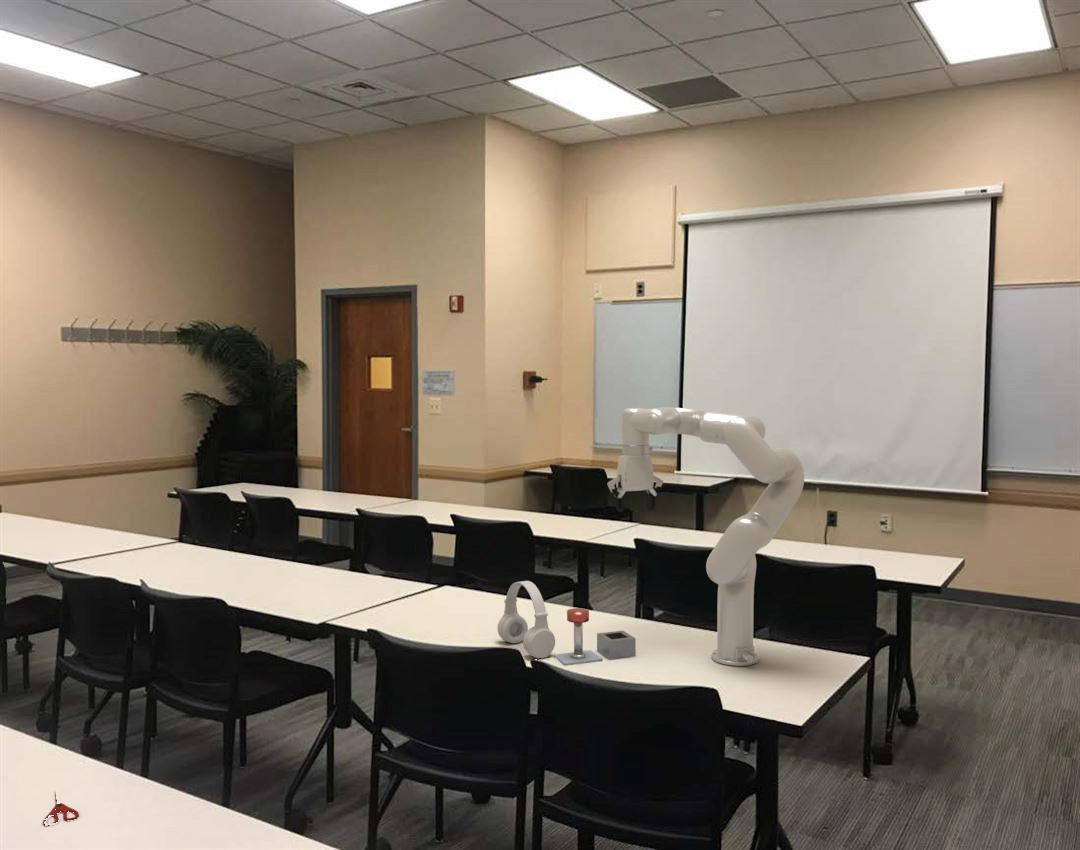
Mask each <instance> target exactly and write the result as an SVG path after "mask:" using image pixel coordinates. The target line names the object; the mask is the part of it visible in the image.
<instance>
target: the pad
mask: <svg viewBox="0 0 1080 850" xmlns="http://www.w3.org/2000/svg"><path fill="white" fill-rule="evenodd" d="M573 652H574V651H572V652H565V653H558V654H553V657H554V658H555V657H556V658H557V659H558V660H557V659H556V658H555V659H556V660H557V661H558V662H560V663H561V665H563V666H572V665H579V664H587V663H592V662H593V663H594V662H602V661H603V658H602V657H601V656H599V655H598V654H597V653H596V652H594V651H592V650H591V649H590V650H583V652H584V653H585V658H583V659H574V658H572V656H571V654H572V653H573Z"/></svg>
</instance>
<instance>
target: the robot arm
mask: <svg viewBox="0 0 1080 850" xmlns="http://www.w3.org/2000/svg"><path fill="white" fill-rule="evenodd" d="M621 418H622V420H621V421H622V424H621V425H622V427H621V428H622V429H621V430H622V435H621V436H622V437H621V438H622V442H621V444H622V447H621V448H622V451H621V452H622V453H621V454H622V455H619V457H618V460H617V461H618V463H617V469H616V477H614V478H613V479H610V480H609V481H608V482H607V487H608V489H609V492H610V493H612V495H613V496H614V497H615V508H616V511H617V512H619V513H623V512H624V511H625V509H624V508H625V500H624V499H625V498H624V497H623V496H624V495H625V493H626V492H639V491H645V492H647V495H646V508H647V509H648V510H650V511H655V507H656V496H657V495H658V493H659V491H660V490H661V488H662V486H663V484H664V480H663V479H661V478H660V477H658V476H655V474H654V467H653V462H652V456H651V455H650V452H652V451H653V449H654V448H653V446H651V445H650V444H649V443H650V436H649V435H652V436H659V435H666V434H678V435H686V436H692V437H697V438H699V439H700V440H701V441H702V442H705V443H713V444H721V445H726V446H727V447H728V449H729V450H730V451H731V453H733V454H734V456H735V457H736V458H737V460H739V461H740V463H741V464H742V465H743V466H744V468H745V469H746V470H747V471H748V472H749V473H750V475H752V477H753V478H755V480H757V481H758V482H761V483H762V484H768V485H767V486H766V488H765V489H764V490H763V492H762V493H761V494H760V495H759V498H758V499H757V501H756V502H755V503H754V505H753V506H752V507H751V509H750V510H749V511H748V512H747V513H746V514H744V515H742V516H739V517H738V518H736V519H734V520H733V521H732V522H731V523H730V524H729V525H728V526H727V528H726V530H725V531H724V532H723V534H722V536H721V537H720V538H719V540H718V542H717V543H716V545H715V546H714V548H713V549H712V551H711V552H710V553H709V556H708V557H707V558H706V563H705V564H706V565H705V569H706V570H705V571H706V573H707V576H708V578H709V579H710V580H711V581H712V582H714V583H715V584H717V586H718V587H717V608H716V609H717V615H716V616H717V617H716V618H717V622H716V623H717V626H716V627H717V628H716V629H717V632H716V633H717V634H716V635H717V638H716V640H717V645H716V649H714V650H713V651H712V652H711V653H710V655H711V659H712V660H713V661H714V662H715V663H717V664H723V665H726V666H727V665H728V666H731V667H732V666H734V667H746V666H752V665H755V664H757V663H758V662H759V661H760V656H759V654H758V653H756V652H755V646H754V605H755V604H754V599H755V598H754V595H755V582H756V581H755V580H756V573H757V558H756V554H757V552H758V551H759V550H761V549H762V548H765V547H766V546H768V545H769V544H770V543H771V541H773V539H774V536H775V535H776V534H777V532H778V530H779V529H780V528H781V526H782V524H783V523H784V522H785V520H786V518H787V517H788V515H789V514H790V512H791V510H793V508H794V506H795V505H796V503H797V502H798V500H799V498H800V496H801V494H802V493H803V488H804V485H805V470H804V468H803V464H802V462H801V460H800V459H799V457H798V456H797V455H796V453H794V452H793V451H792V450H790V449H788V448H784V447H775V448H772V447H771V446H770V445H769V444H768V443H767V442H766V440H765V439H764V438H765V436H766V425H765V424H764V422H763V421H762V420H761V419H760V418H759V417H757V416H754V415H749V414H742V413H741V414H740V413H732V412H731V413H730V412H722V411H721V412H720V411H714V410H713V411H712V410H700V409H693V408H692V409H691V408H683V407H682V408H681V407H673V406H664V407H654V408H653V407H652V408H643V407H627V408H625V409H624V410H623V411H622V416H621ZM654 482H655V483H656V484H655V483H654ZM654 484H655V486H654ZM615 485H616V487H615ZM616 488H617V489H616Z"/></svg>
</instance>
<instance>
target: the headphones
mask: <svg viewBox="0 0 1080 850" xmlns="http://www.w3.org/2000/svg"><path fill="white" fill-rule="evenodd" d="M521 587H524V589H525V590H526V591H527V593H528V594H529V597H530V599H531V602H532V605H533V609H534V614H533V615H534V626H533V627H530V628H529V626H528V622H527V620H526V619H525V618H524V617H523V616H521V615H520V614H519V611H518V608H517V603H518V602H517V601H518V599H517V597H518V593H519V590H520V588H521ZM503 611H504V612H503V615H502V617H501V618H500V619H499V621H498V623H497V634H498V636H499V637H500V638H501V639H502V640H503V641H504V642H507V643H511V644H518V643H520V642H522V641H523V642H522V644H523V648H524V649H525V651H526V652H527V654H529V655H530V656H532V658H536V659H539V658H541V659H545V658H547V657H549V656H550V655H551V654H552V652H553V651H554V649H555V647H556V639H555V638H556V637H555V635H554V634H555V633H553V631H552V630H551V629H550V627H549V623H548V616H549V614H548V611H546V606H545V601H544V599H543V596H542V594H541V592H540V590H539V588H538V587H537V586H536V584H535V583H534V582H532V581H530V580H524V581H523V580H522V581H516V582H513V583H512V584H511V585H510V587H509V588H508V591H507V594H506V597H505V599H504V610H503ZM544 657H545V658H544Z"/></svg>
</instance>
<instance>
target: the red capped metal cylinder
mask: <svg viewBox="0 0 1080 850" xmlns="http://www.w3.org/2000/svg"><path fill="white" fill-rule="evenodd" d="M566 621H567V622H569V623H572V624H573V651H572V652H573V653H572V652H571V653H572V654H571V656H572V658H574V659H583V658H585V653H584V652H583V651H584V642H583V640H584V639H583V637H584V636H583V635H584V633H583V632H584V631H583V630H584V629H583V628H584V627H583V623H587V622H589V621H590V610H589V609H587V608H581V607H580V608H579V607H577V608H573V607H572V608H569V609H567V611H566Z"/></svg>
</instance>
